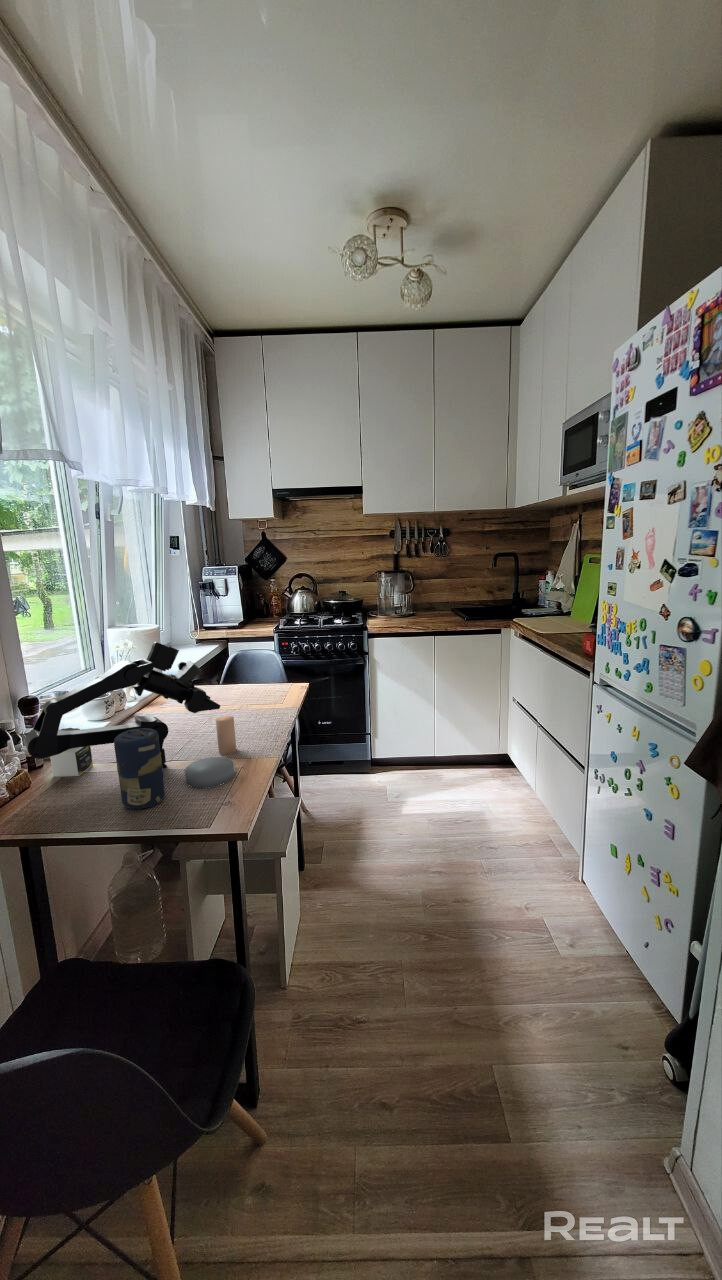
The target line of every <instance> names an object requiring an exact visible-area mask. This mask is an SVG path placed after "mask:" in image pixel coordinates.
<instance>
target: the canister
mask: <svg viewBox="0 0 722 1280" xmlns="http://www.w3.org/2000/svg"><path fill="white" fill-rule="evenodd" d="M113 746H114V753H115V763H116V769H117V775H118V781H119V782H118V783H119V789H120V796H121V803H122V804H123V806H124V807H126V808H128V809H131V810H139V809H140V810H141V809H146V808H150V807H152V806H154V805H156V804H158V803H160V802H161V801H162V800H163V799H164V797H165V796H166V790H165V778H164V777H165V776H164V768H163V766H162V758H161V754H162V753H161V752H160V744H159V735H158V732H157V731H156V730H154V729H149V728H139V729H133V730H129V731H126V732H123V733H121V734H119V735H118V736H117V737H116V738H115V740H114V743H113Z"/></svg>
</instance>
